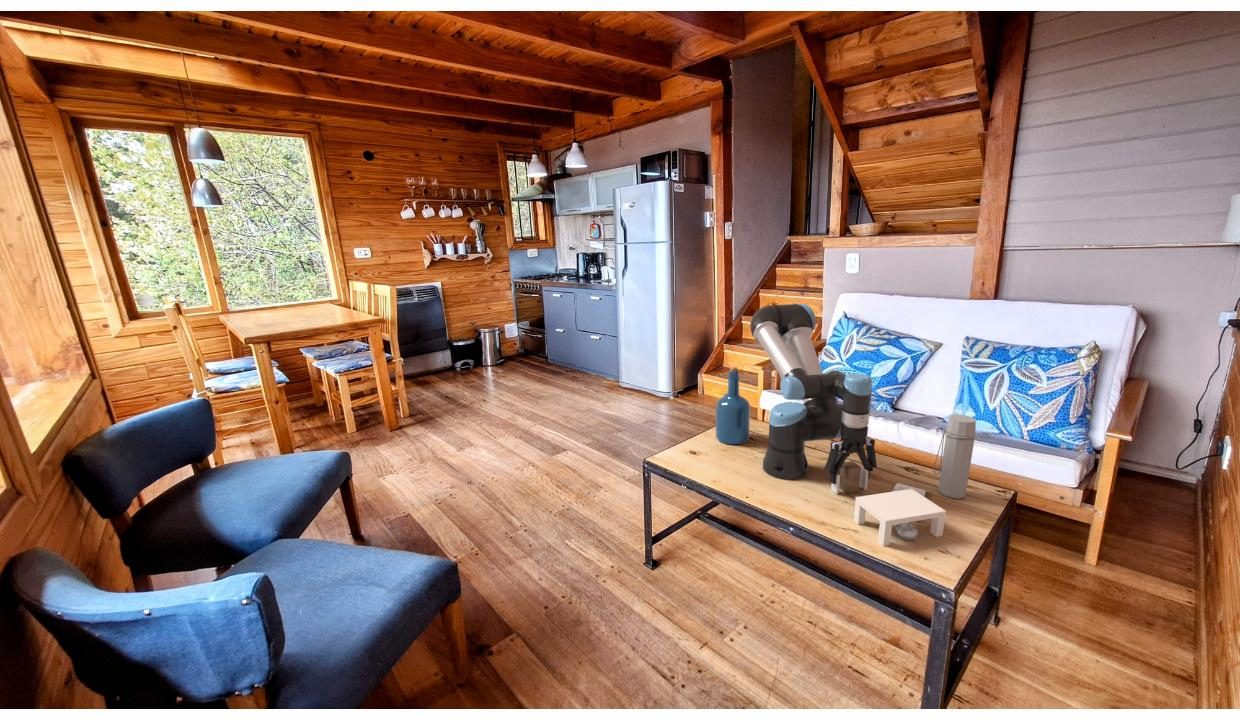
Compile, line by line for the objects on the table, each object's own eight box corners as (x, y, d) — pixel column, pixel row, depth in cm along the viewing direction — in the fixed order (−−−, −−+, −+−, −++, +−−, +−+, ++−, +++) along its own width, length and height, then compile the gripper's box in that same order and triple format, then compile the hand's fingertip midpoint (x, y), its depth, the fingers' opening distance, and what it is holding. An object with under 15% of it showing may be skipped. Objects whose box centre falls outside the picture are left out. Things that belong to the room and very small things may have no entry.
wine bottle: (751, 445, 189) (754, 372, 182) (717, 445, 191) (718, 372, 183) (746, 431, 202) (748, 362, 195) (714, 431, 204) (714, 362, 196)
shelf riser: (853, 520, 139) (855, 497, 137) (908, 511, 142) (911, 488, 140) (883, 546, 128) (885, 521, 126) (942, 535, 131) (946, 511, 129)
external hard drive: (886, 503, 148) (896, 486, 157) (917, 512, 143) (925, 494, 152) (887, 498, 147) (896, 482, 156) (918, 507, 142) (926, 489, 151)
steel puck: (891, 531, 134) (892, 524, 133) (907, 529, 135) (908, 521, 134) (904, 542, 129) (905, 534, 128) (921, 540, 130) (922, 532, 129)
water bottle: (968, 493, 151) (980, 417, 144) (962, 503, 145) (974, 425, 139) (934, 483, 157) (945, 410, 151) (927, 492, 152) (937, 417, 146)
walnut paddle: (839, 488, 157) (841, 462, 154) (850, 486, 157) (852, 461, 155) (882, 523, 138) (885, 494, 135) (895, 521, 138) (898, 492, 136)
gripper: (829, 432, 144) (824, 500, 149) (895, 424, 148) (887, 491, 153) (815, 423, 151) (810, 488, 157) (877, 416, 155) (871, 479, 160)
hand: (848, 489), depth 155 cm, fingers open, 9 cm apart
